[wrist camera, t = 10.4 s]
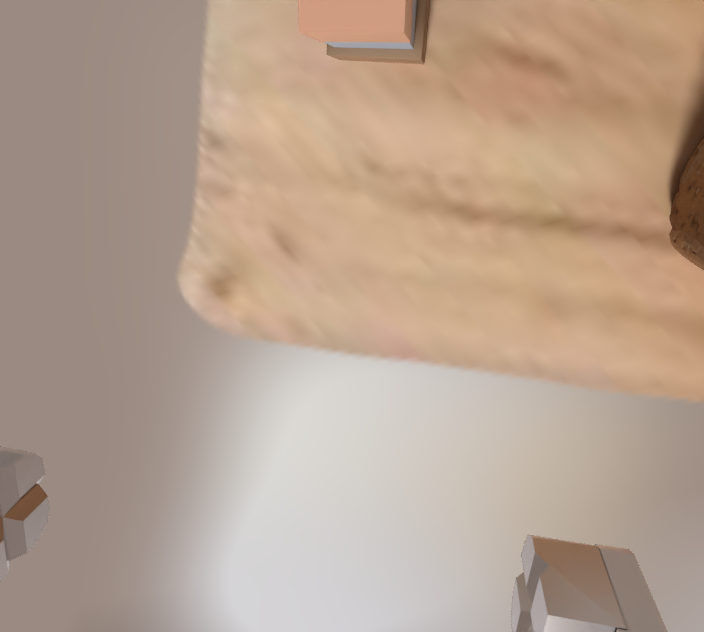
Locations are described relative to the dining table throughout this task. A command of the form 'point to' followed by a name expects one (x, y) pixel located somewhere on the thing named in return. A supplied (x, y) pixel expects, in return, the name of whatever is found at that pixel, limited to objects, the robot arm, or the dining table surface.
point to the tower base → (392, 54)
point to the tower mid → (382, 44)
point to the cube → (356, 20)
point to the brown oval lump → (690, 210)
